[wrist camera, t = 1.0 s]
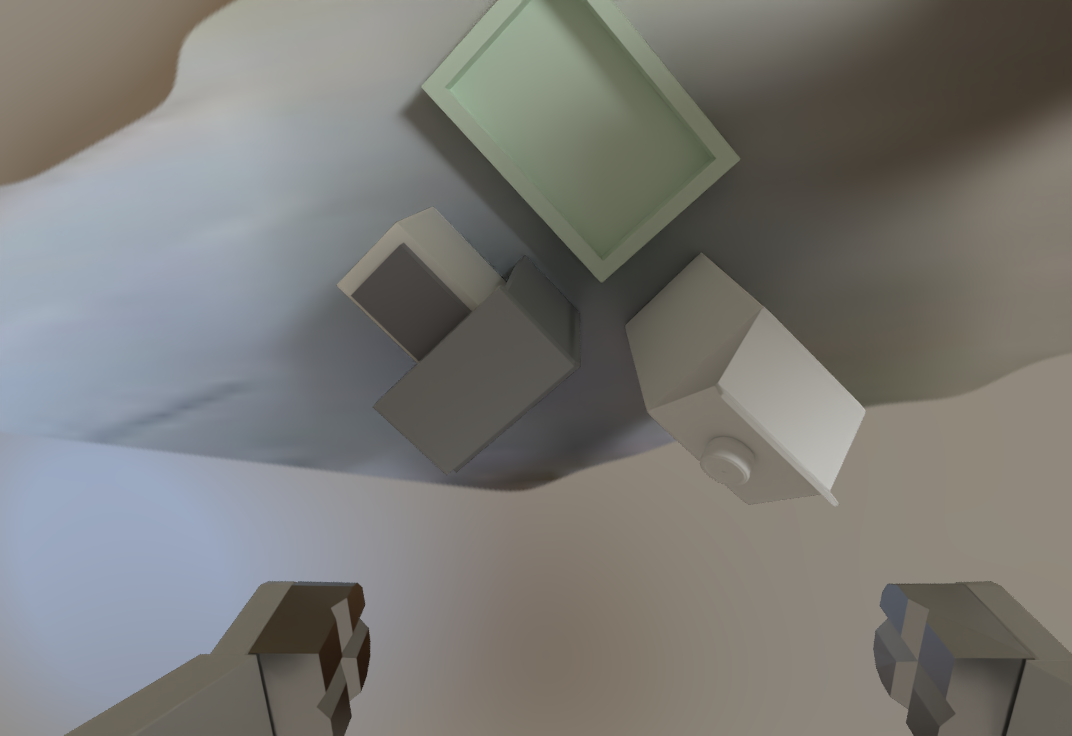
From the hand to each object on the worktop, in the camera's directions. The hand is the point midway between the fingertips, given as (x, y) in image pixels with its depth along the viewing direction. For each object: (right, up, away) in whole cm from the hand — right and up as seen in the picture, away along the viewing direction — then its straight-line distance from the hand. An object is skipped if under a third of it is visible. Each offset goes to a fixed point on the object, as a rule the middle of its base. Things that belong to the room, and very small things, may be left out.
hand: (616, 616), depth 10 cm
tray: (+2, +19, +29) cm, 35 cm away
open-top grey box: (-4, +7, +34) cm, 35 cm away
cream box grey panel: (-6, +10, +33) cm, 35 cm away
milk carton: (+10, +7, +33) cm, 36 cm away
